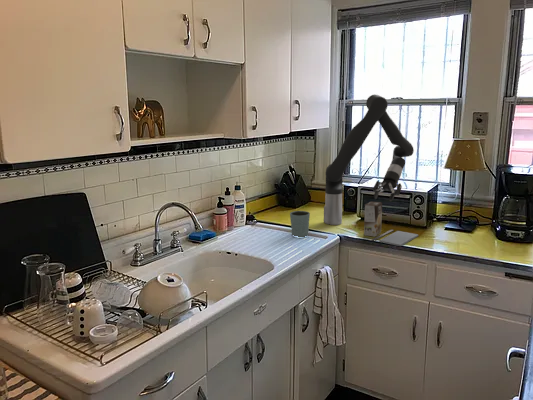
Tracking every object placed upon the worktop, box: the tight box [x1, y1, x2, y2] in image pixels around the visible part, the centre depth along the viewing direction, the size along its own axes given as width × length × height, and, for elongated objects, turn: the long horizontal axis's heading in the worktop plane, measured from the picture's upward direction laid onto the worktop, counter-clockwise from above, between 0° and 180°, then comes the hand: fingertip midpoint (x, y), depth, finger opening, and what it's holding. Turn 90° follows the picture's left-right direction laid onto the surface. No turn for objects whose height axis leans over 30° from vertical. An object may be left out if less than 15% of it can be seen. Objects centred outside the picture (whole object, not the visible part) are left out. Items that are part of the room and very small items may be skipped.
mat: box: [379, 230, 419, 247], centre depth 224 cm, size 11×20×1 cm, turn 139°
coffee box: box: [363, 201, 383, 238], centre depth 232 cm, size 9×6×16 cm
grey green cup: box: [289, 210, 311, 237], centre depth 232 cm, size 10×10×12 cm
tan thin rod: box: [370, 229, 394, 242], centre depth 230 cm, size 2×22×1 cm, turn 139°
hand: (382, 199), depth 237 cm, fingers open, 8 cm apart
